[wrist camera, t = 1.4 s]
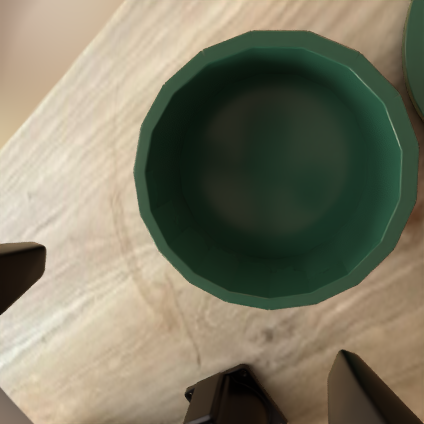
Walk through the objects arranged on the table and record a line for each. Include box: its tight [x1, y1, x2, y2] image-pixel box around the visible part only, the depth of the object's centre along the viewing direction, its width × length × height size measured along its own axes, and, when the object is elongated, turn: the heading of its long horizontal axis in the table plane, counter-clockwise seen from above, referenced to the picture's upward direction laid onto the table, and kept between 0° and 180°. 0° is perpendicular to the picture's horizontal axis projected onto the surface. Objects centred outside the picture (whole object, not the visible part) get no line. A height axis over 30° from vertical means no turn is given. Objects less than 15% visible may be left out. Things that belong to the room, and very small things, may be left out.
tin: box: [133, 30, 419, 310], centre depth 17 cm, size 13×14×6 cm
